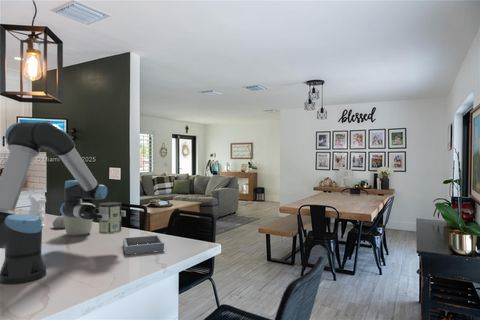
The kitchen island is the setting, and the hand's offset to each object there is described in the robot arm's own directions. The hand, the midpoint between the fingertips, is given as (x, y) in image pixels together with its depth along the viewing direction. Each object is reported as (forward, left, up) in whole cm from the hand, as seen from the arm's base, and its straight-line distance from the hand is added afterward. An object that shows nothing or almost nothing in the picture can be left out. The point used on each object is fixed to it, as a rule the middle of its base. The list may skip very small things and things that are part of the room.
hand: (116, 215), depth 156 cm
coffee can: (+3, +3, -9) cm, 10 cm away
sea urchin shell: (+74, +29, -18) cm, 82 cm away
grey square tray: (+3, -13, -18) cm, 22 cm away
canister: (+49, +19, -18) cm, 56 cm away
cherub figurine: (+79, +44, -18) cm, 93 cm away
